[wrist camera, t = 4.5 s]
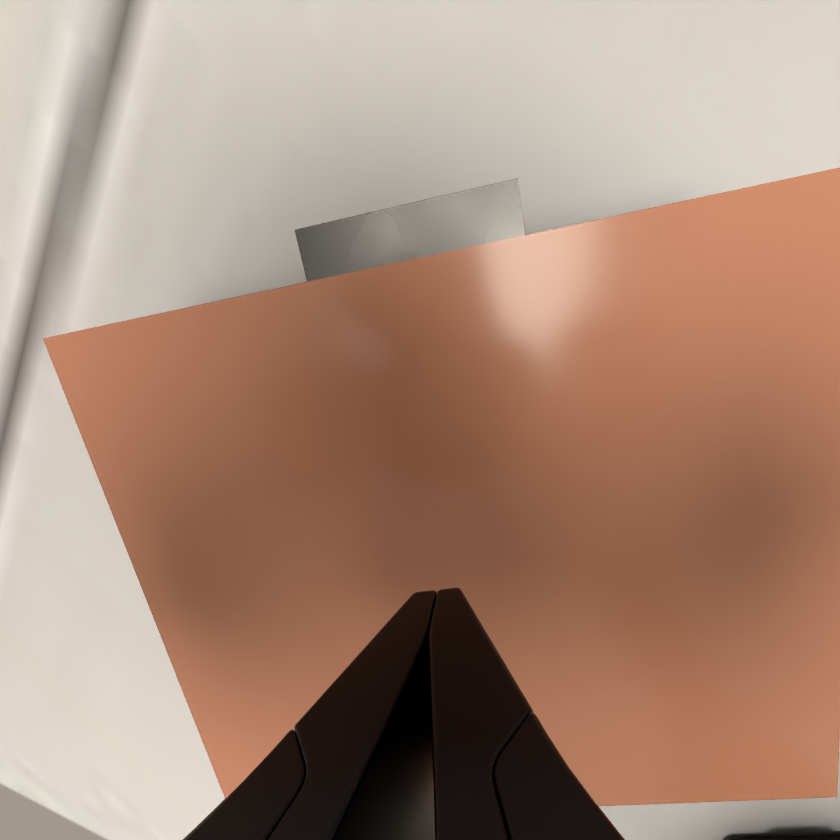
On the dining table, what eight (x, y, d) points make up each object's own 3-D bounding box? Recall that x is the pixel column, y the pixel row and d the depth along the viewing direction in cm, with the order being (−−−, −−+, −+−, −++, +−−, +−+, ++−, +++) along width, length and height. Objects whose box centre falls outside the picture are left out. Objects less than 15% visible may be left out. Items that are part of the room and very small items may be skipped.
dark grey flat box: (717, 635, 19) (803, 751, 14) (300, 671, 21) (251, 780, 17) (695, 164, 15) (806, 100, 10) (182, 280, 17) (72, 273, 12)
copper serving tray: (806, 755, 14) (836, 797, 13) (250, 782, 16) (233, 820, 15) (818, 177, 10) (864, 162, 9) (82, 333, 12) (43, 338, 11)
